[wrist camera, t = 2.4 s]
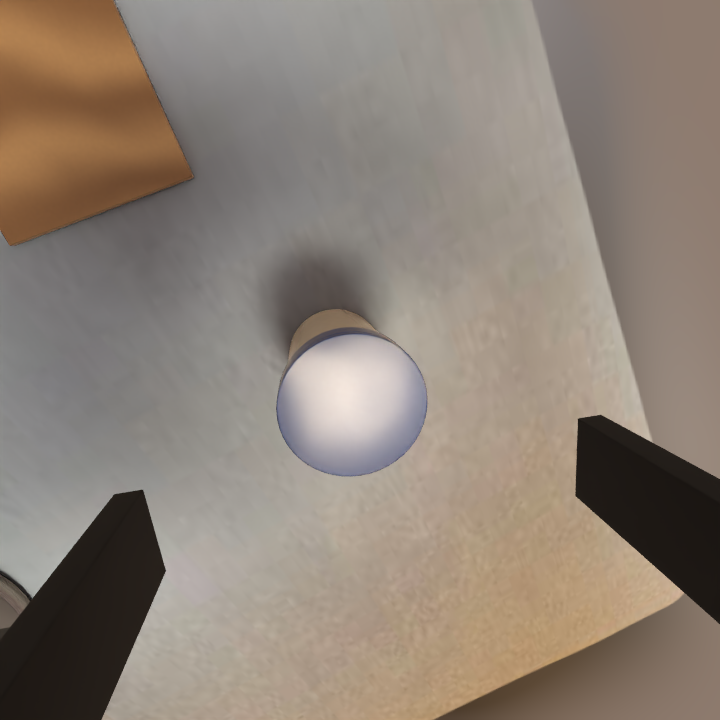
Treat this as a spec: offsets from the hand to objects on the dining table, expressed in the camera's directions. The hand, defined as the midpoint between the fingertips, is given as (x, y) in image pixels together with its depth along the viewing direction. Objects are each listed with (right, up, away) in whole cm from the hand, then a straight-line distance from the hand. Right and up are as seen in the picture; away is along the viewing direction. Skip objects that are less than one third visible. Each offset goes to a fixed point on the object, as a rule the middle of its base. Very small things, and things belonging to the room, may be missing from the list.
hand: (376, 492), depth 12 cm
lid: (-1, +2, +8) cm, 8 cm away
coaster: (-19, +19, +12) cm, 29 cm away
